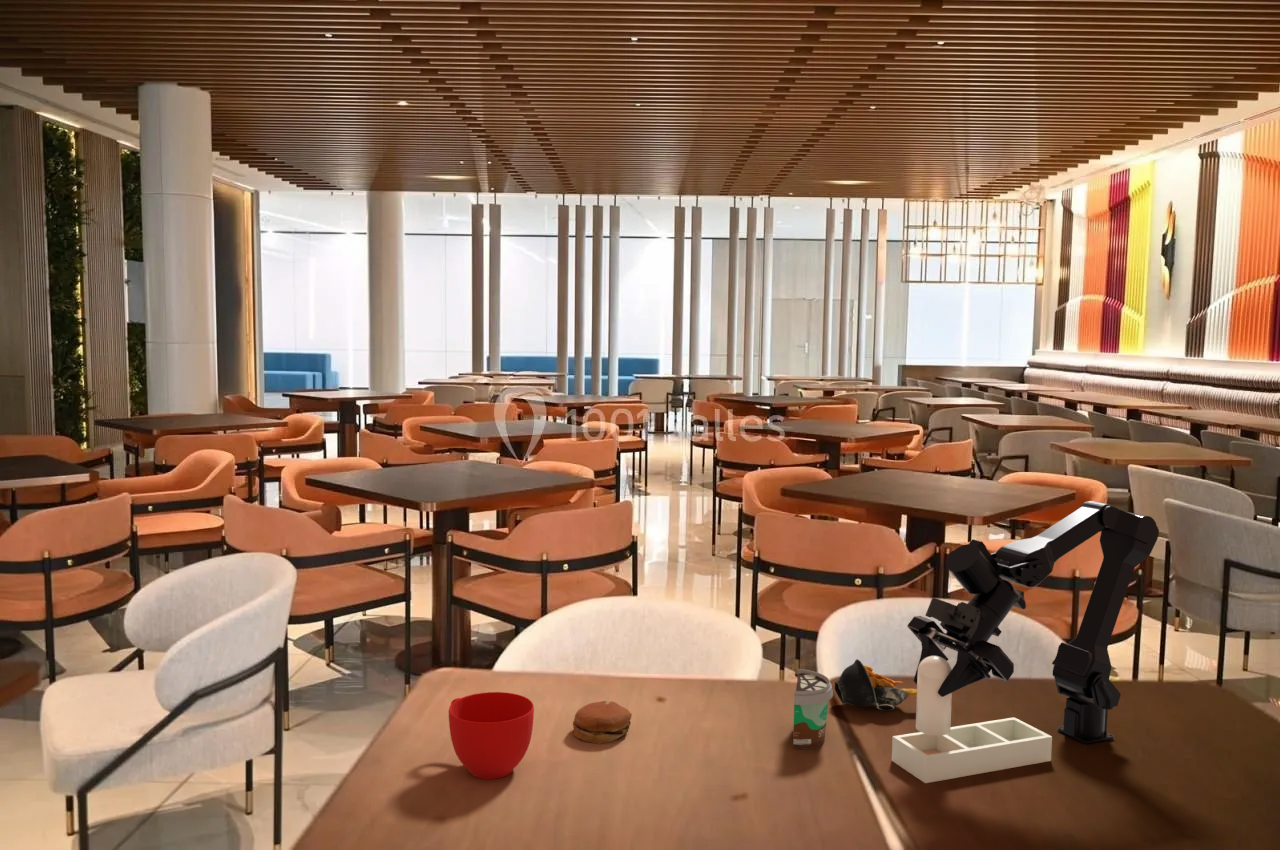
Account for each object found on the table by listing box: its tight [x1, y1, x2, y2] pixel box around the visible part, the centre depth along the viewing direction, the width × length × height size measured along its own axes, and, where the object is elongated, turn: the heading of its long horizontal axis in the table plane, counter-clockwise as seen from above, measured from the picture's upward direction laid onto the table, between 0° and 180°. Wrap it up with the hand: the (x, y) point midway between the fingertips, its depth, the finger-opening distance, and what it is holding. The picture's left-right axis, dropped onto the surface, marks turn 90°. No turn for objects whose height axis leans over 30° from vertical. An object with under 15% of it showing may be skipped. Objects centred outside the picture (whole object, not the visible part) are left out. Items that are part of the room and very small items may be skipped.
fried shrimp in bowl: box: [834, 659, 917, 711], centre depth 184 cm, size 9×11×18 cm
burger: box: [572, 700, 633, 744], centre depth 170 cm, size 10×9×5 cm
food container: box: [792, 668, 834, 750], centre depth 168 cm, size 12×6×10 cm, turn 168°
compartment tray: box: [891, 717, 1053, 784], centre depth 161 cm, size 24×9×4 cm, turn 111°
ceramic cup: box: [448, 691, 535, 780], centre depth 156 cm, size 13×17×10 cm
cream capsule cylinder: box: [915, 656, 953, 735], centre depth 157 cm, size 5×5×12 cm
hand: (927, 689), depth 156 cm, fingers closed on cream capsule cylinder, 5 cm apart
